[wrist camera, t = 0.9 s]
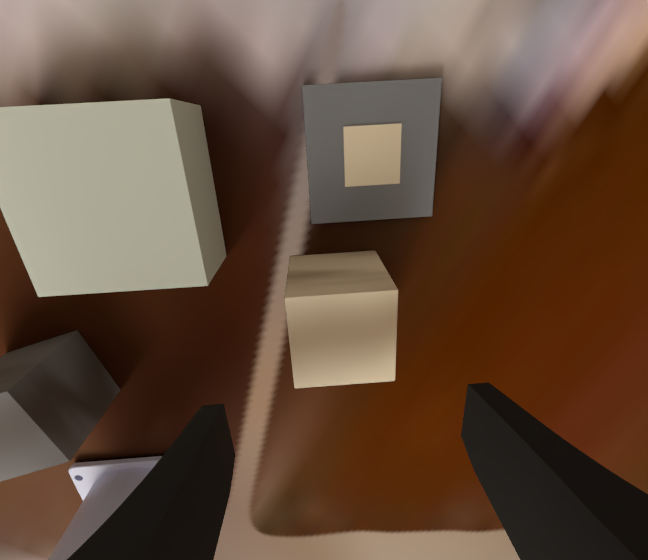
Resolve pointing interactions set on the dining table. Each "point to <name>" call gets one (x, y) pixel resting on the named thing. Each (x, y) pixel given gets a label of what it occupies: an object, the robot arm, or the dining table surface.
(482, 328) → the dining table surface
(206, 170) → the grey-green pedestal
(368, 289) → the birch block
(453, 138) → the dining table surface
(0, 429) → the gray block
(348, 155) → the tile
